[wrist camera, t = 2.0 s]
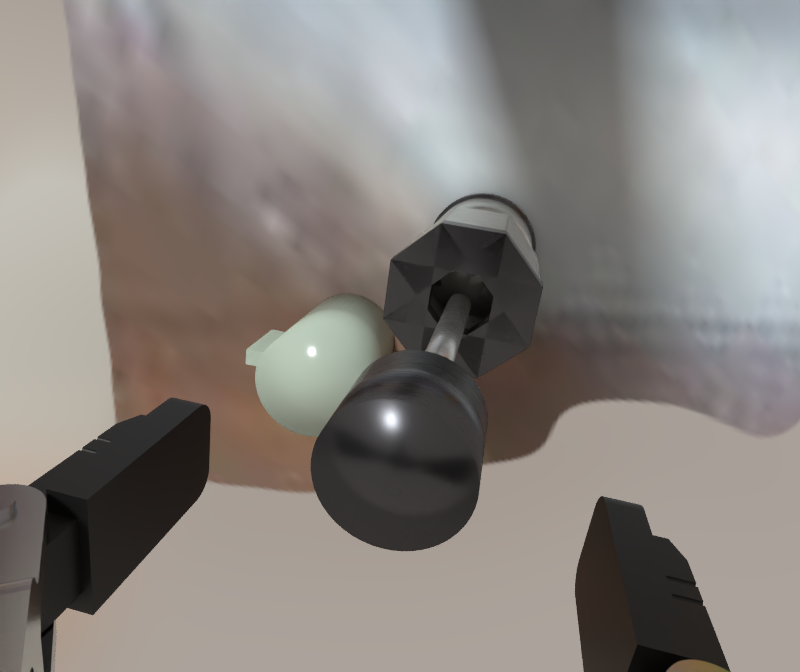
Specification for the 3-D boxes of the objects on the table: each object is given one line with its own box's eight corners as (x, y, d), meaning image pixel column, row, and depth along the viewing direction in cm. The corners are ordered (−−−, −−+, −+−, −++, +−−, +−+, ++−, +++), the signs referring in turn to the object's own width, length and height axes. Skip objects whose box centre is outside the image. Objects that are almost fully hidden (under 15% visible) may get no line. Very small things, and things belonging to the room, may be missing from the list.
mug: (290, 281, 42) (231, 318, 33) (399, 302, 41) (367, 346, 32) (284, 364, 44) (227, 417, 36) (387, 386, 43) (354, 447, 35)
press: (438, 185, 38) (394, 211, 25) (545, 202, 37) (557, 239, 24) (418, 313, 41) (369, 397, 28) (517, 332, 40) (513, 428, 27)
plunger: (424, 256, 25) (318, 383, 12) (510, 271, 24) (494, 421, 11) (411, 336, 26) (303, 528, 13) (493, 352, 25) (462, 568, 13)
